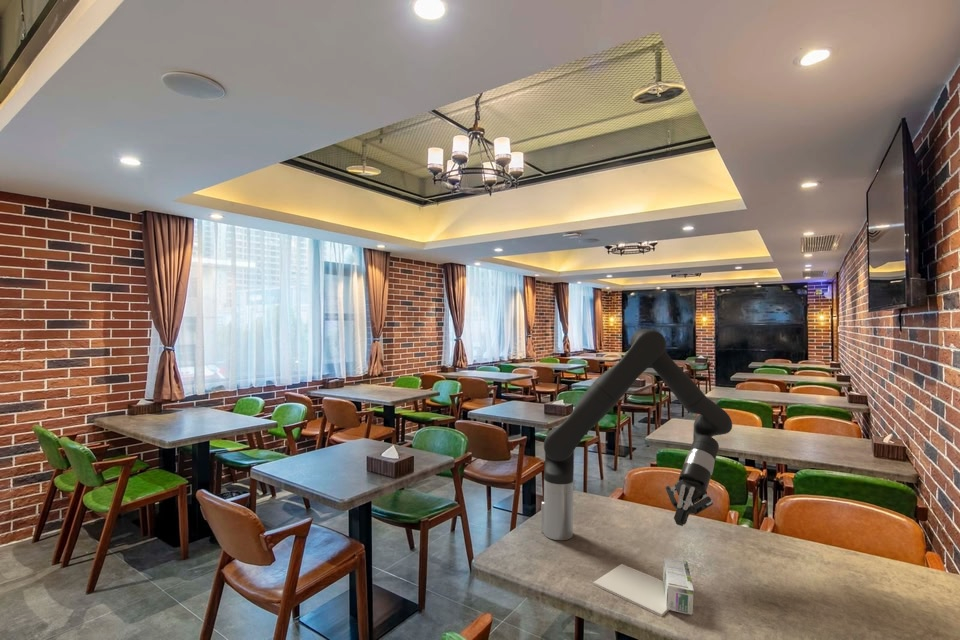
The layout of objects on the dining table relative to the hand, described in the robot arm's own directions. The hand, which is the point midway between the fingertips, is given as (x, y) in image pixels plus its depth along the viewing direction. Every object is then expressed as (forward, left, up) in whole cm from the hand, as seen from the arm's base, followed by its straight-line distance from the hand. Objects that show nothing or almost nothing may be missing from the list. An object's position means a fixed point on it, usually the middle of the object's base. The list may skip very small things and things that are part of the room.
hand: (678, 523), depth 124 cm
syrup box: (+1, -6, -10) cm, 11 cm away
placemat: (-3, -15, -13) cm, 20 cm away
